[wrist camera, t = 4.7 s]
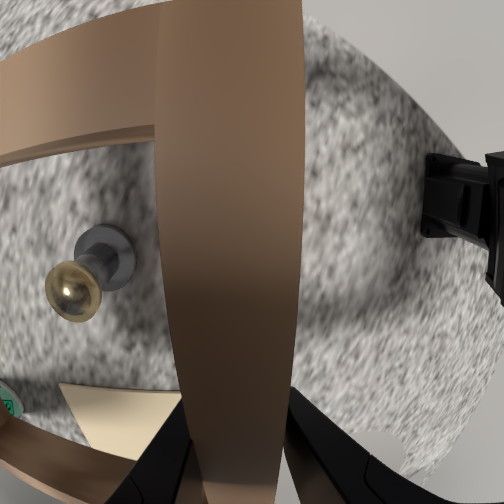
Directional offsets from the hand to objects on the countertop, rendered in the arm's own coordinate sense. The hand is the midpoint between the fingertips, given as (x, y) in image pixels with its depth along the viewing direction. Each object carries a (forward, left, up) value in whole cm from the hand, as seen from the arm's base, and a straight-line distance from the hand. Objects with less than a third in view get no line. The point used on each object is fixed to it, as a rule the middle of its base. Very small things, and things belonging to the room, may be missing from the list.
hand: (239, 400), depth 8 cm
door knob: (+8, 0, -12) cm, 15 cm away
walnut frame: (+8, 0, -2) cm, 8 cm away
